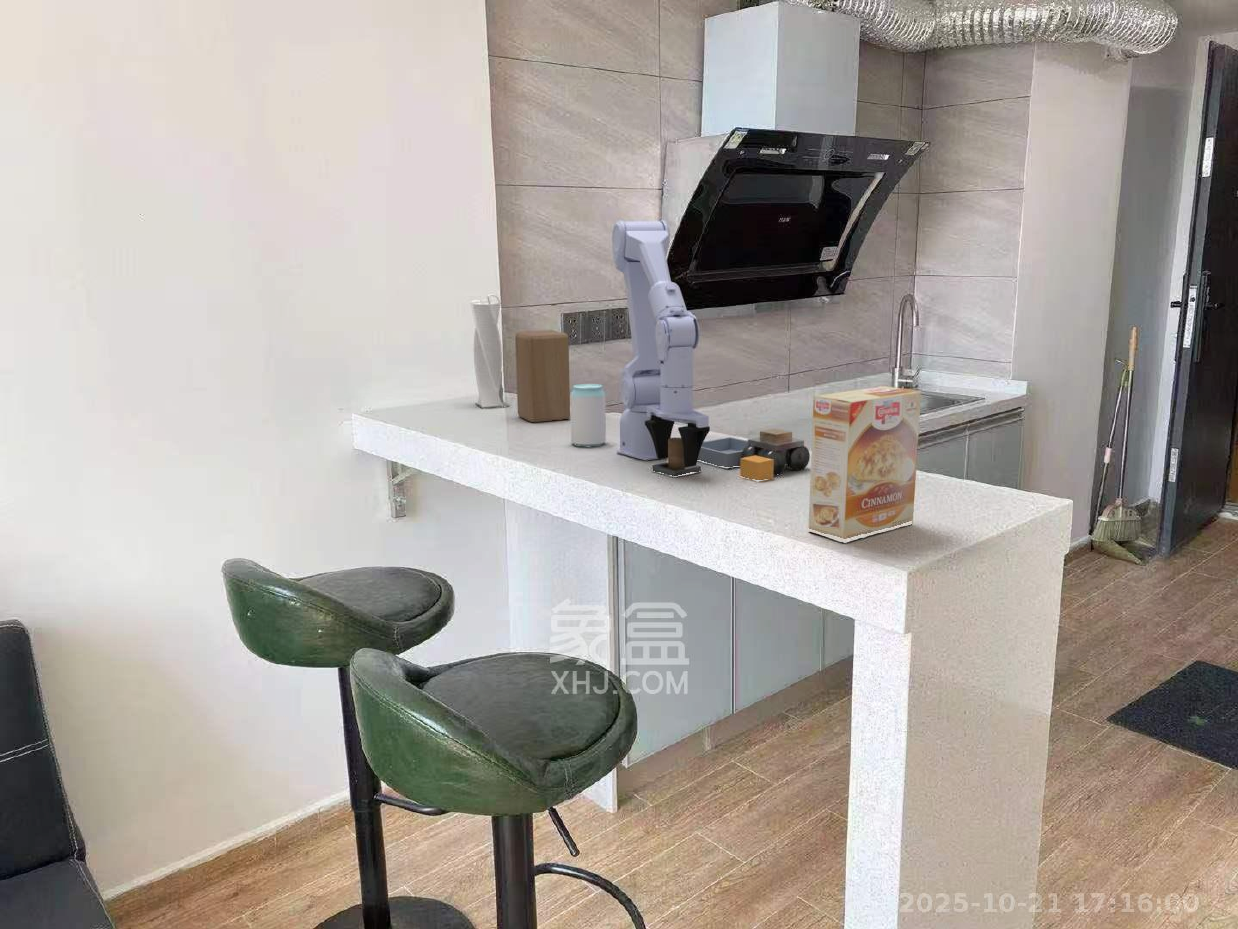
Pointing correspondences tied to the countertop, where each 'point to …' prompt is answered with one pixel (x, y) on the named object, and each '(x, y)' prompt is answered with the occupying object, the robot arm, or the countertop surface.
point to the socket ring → (664, 469)
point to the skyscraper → (488, 353)
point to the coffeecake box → (863, 460)
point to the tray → (723, 451)
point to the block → (542, 375)
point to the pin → (675, 453)
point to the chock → (756, 467)
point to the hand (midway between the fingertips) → (676, 462)
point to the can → (588, 415)
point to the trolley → (779, 449)
